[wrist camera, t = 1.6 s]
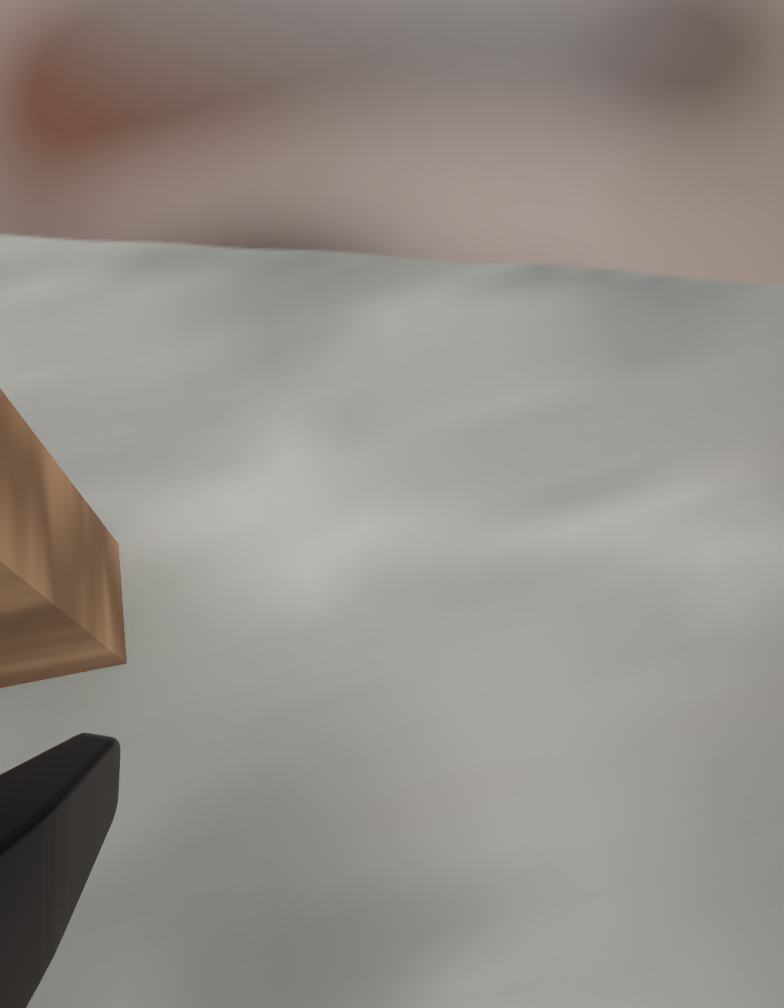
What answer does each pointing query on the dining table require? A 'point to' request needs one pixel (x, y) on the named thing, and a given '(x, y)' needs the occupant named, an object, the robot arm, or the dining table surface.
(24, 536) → the wooden pillar
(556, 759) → the dining table surface
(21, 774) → the robot arm
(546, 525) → the dining table surface
